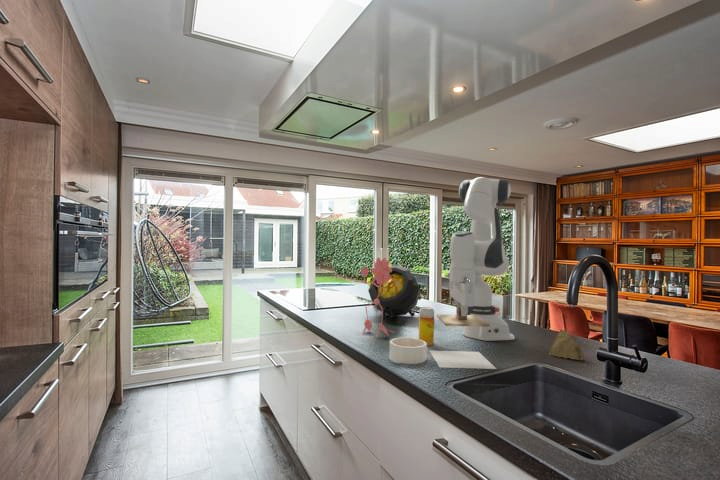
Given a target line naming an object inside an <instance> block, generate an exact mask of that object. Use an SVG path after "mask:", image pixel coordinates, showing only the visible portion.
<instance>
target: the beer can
mask: <svg viewBox="0 0 720 480" xmlns="http://www.w3.org/2000/svg"><path fill="white" fill-rule="evenodd" d="M418 312H419V315H418V317H419V318H418V339H420V340H423V341H425V342H426V343H427V346H432V345H433V344H434V343H435V342H434V340H435V339H434V337H435V335H434V333H435V310H434V308H433V307H430V306H422V307H420V308H419V311H418Z"/></svg>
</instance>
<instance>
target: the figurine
mask: <svg viewBox="0 0 720 480" xmlns="http://www.w3.org/2000/svg"><path fill="white" fill-rule="evenodd" d="M391 267H392V266H390V261H389V260H387V258H386V257H384V258H382V259H381V258H380V257H379V256H378V257H377V258H376V262H375V261H374V267H373V268H371V273H372V274H373V277H374V280H373V281H372V280H371V281H366V277H367V276H368V275H369V269H368V268H367V266H363V267H362V268H361V269H360V273H361V276H362V277H363V283H364V284H371V283H372V284H374V285H376V284H375V283H374V281H375V280H377V284H380V283H381V284H380V286H381V285H382V283H384V284H386V283H387V279H390V278H391V280H392V281H393V282H394V283H395V284H396V285H397V286H398V287H399V285H398V284H397V283H396V282H395V281H394V280H393V279H392V277H391V276H390V274H389V273H391V272H392V269H391ZM376 286H377V287H378V288H380V286H378V285H376ZM380 290H381V289H379V293H380ZM379 293H378V297H379ZM378 297H377V299H375V300H374V303H373V302H372V303H370V304H368V305H365V312H366V320H365V321H364V329H363V331H362V334H365V331H366V330H367V331H371V330H373V329H374V330H375V329H376V328H375V327H373V323H372V322H371V321H370V320H369V317H368V310H367V309H368V308H367V307H369V306H371V305H373V304H374V305H375V306H376V305H378V304H379V305H380V301H379V300H378ZM380 307H381V305H380ZM381 309H382V307H381ZM381 318H384V317H383V309H382V311H381ZM378 326H379V328H378V329H377V330H378V331H377V334H376V336H375V338H376V339H377V338H378V335H379V334H380V331H382V332H383V333H384V334H385V335H386V336H387V337H389V336H390V334H389V332H391V333H394V331H393V330H390V329H389V330H388V329H387V328H386V327H385V326H384V324H383V319H381V322H379V324H378ZM388 331H389V332H388Z"/></svg>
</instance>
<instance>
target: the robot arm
mask: <svg viewBox="0 0 720 480" xmlns="http://www.w3.org/2000/svg"><path fill="white" fill-rule="evenodd" d="M511 193H512V188H511V185H510V182H509V181H508V180H507V179H503V178H499V179H497V178H488V177H484V176H479V177H476V178H474V179H464V180H462V182H461V183H460V185H459V188H458V195H459V199H460V200H461V201H462V202H463V209H464V210H463V211H464V212H465V214H466V216H467V217H468V218H470V219H471V224H470V231H466V230H465V231H464V230H463V231H461V230H460V231H455V232H454V233H452V235H451V239H450V247H449V248H450V249H449V258H450V265H449V272H448V273H447V276H448V277H447V278H448V280H449V293H450V298H452V299H453V300H455V303H456V304H455V305H456V308H457V307H461V311H460V314H461V316H466V315H477V316H478V317H480V318H481V319H483V320H484V321H485V322H487V323H488V324H490V326H489V327H480V326H463V330H462V333H461V334H462V335H463V336H465V337H468V338H471V339H475V340H476V339H477V340H480V341H485V342H486V341H487V342H489V341H491V342H492V341H515V340H516V339H515V337H516V336H515V334H513V333H511V332H510V329H509V323H507V322H506V321H505V320H503V319H502V318H501V317H500V316H499V315H498V314H497V313H499V312H500V308H499V307H498V306H494V305H493V289H492V287H491V285H489V284H488V283H486V282H485V280H484V279H483V276H489V277H490V276H491V277H494V276H500V275H501V276H502V275H504V274H506V273H507V271H508V270H509V269H508V268H509V266H510V263H509V258H508V256H507V255H506V251H505V247H504V242H503V241H504V240H503V232H502V220H501V216H500V211H499V209H498V208H497V204H498V207H501V205H503V204H505V203H506V202H507V201H509V198H510V196H511Z"/></svg>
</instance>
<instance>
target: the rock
mask: <svg viewBox="0 0 720 480" xmlns="http://www.w3.org/2000/svg"><path fill="white" fill-rule="evenodd" d="M548 356H553V357H556V356H557V357H556V358H561V357H563V358H562V359H567V358H570V360H577V361H584V360H585V357H584V353H583V351H582V349H581V347H580V345H578V343H577V342H576V340H575V339H574V338H573V337H572V335H570V333H568V331H567V330H564V329H560V331H559V332H558V333H557V334H556V336H555V338H554V341H553V343H552V344H551V347H550V350H549V353H548Z"/></svg>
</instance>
